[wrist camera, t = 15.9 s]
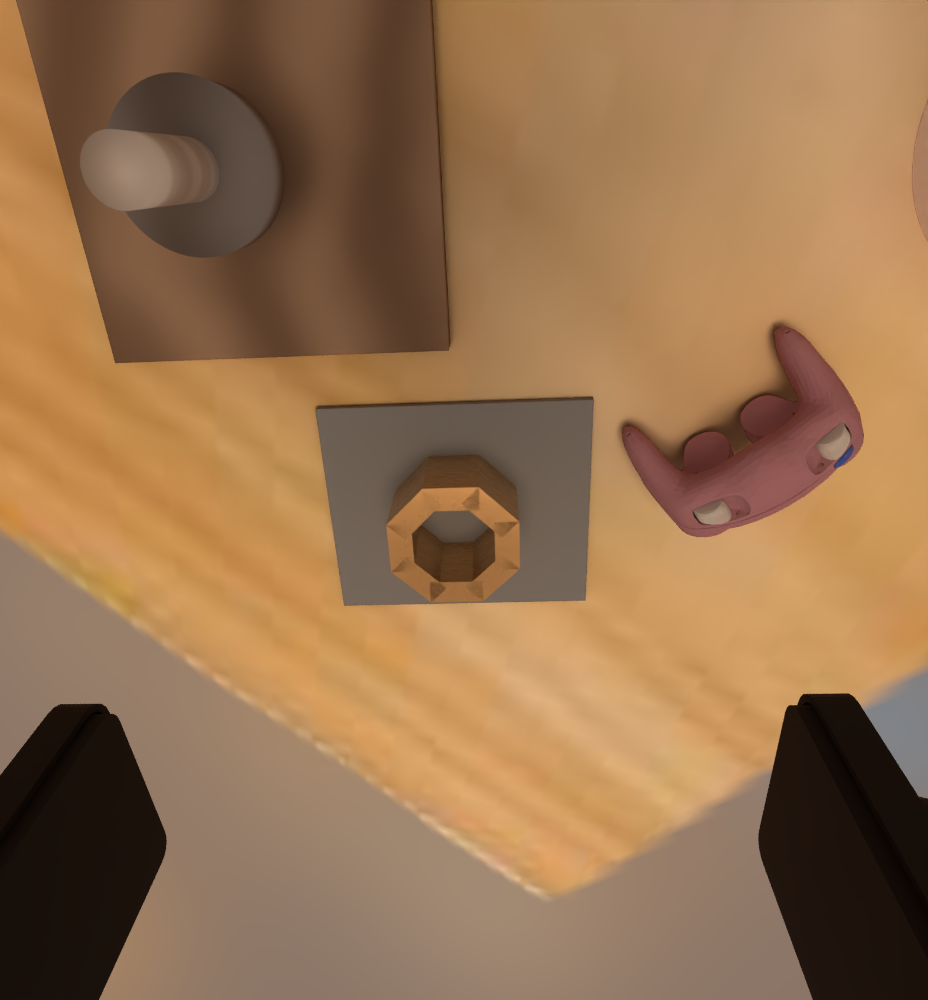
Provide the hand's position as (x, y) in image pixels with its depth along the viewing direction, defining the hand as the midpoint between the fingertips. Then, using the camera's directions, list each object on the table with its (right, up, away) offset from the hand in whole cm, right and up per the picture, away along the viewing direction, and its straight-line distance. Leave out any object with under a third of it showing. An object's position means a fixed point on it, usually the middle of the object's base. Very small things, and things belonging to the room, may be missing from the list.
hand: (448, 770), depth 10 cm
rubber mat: (0, +3, +28) cm, 28 cm away
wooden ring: (0, +3, +27) cm, 27 cm away
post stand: (-9, +18, +20) cm, 29 cm away
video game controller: (+13, +8, +25) cm, 30 cm away
